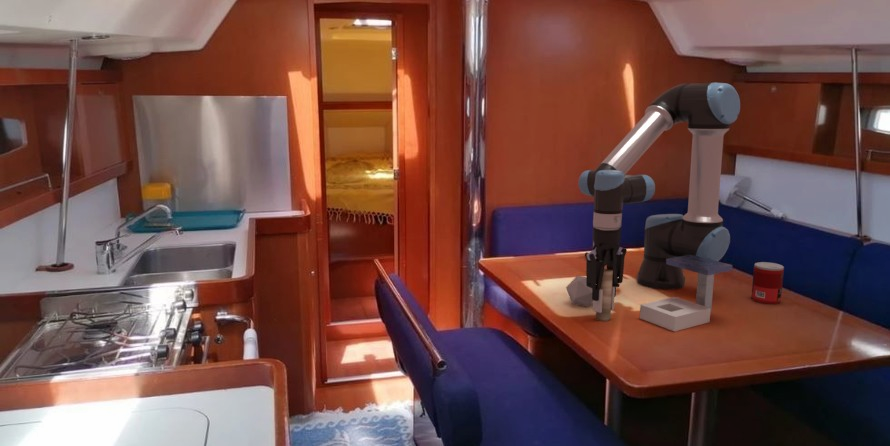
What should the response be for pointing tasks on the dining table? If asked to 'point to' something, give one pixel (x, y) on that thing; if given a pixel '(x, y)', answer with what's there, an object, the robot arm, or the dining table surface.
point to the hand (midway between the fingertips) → (603, 309)
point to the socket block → (675, 313)
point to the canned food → (767, 282)
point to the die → (579, 292)
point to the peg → (606, 296)
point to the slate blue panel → (701, 274)
